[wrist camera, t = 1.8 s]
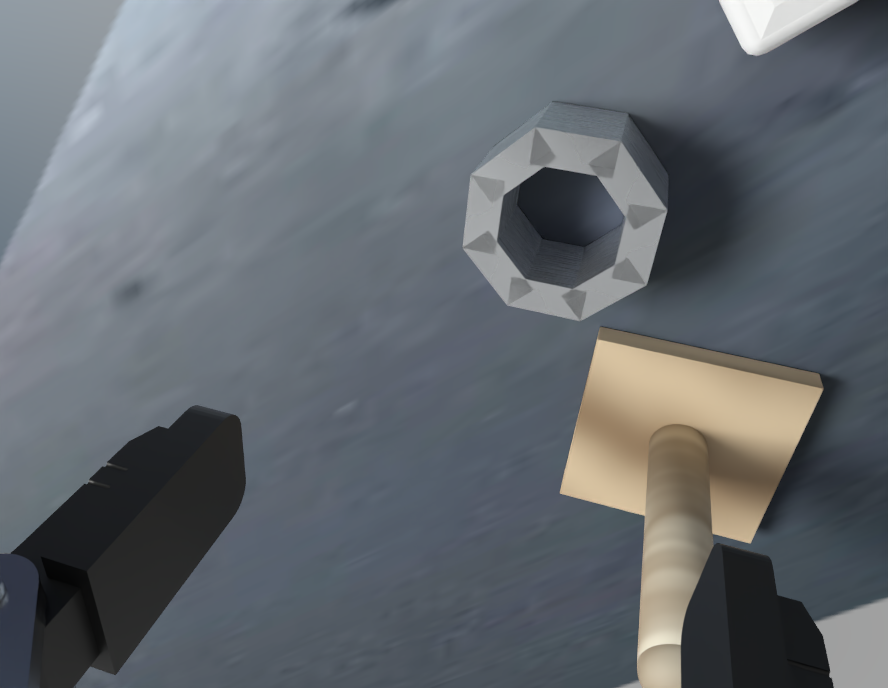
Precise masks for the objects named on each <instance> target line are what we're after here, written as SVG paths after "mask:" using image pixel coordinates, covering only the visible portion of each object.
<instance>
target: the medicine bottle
mask: <svg viewBox="0 0 888 688" xmlns="http://www.w3.org/2000/svg"><path fill="white" fill-rule="evenodd" d="M857 1H859V0H719V2H720V4H721V6H722V8H723V10H724V12H725V14H726V16H727V18H728V20H729V22H730V24H731V26H732V29H733V31H734V33H735V35H736V37H737V39H738V41H739V43H740V45H741V47H742V48H743V49H744V50H745V51H746V52H747V54H750V55H755V56H759V55H762V54H765V53H768V52H769V51H771V50H773V49H775V48H776V47H778V46H780V45H782V44H783V43H785V42H787V41H789V40H790V39H792V38H794V37H796V36H797V35H799V34H801V33H803V32H805V31H806V30H808V29H810V28H812V27H813V26H815V25H817V24H819V23H820V22H822V21H824V20H826V19H827V18H829V17H831V16H833V15H834V14H836V13H838V12H840V11H841V10H843V9H845V8H847V7H848V6H850V5H852V4H854V3H855V2H857Z"/></svg>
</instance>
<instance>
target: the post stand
mask: <svg viewBox="0 0 888 688" xmlns="http://www.w3.org/2000/svg"><path fill="white" fill-rule="evenodd" d="M823 389H824V388H823V385H822V382H821V379H820V375H819V374H818V373H813V372H809V371H804V370H799V369H795V368H790V367H786V366H781V365H776V364H772V363H767V362H762V361H758V360H753V359H748V358H744V357H739V356H735V355H730V354H725V353H721V352H716V351H711V350H707V349H702V348H697V347H693V346H688V345H683V344H679V343H674V342H670V341H665V340H660V339H656V338H651V337H646V336H642V335H637V334H632V333H628V332H623V331H619V330H614V329H609V328H605V327H600V329H599V333H598V337H597V341H596V345H595V349H594V353H593V358H592V362H591V366H590V370H589V374H588V378H587V382H586V386H585V390H584V394H583V398H582V403H581V407H580V411H579V415H578V419H577V423H576V427H575V431H574V435H573V439H572V443H571V447H570V452H569V456H568V460H567V464H566V468H565V472H564V476H563V480H562V485H561V490H560V494H564V495H568V496H572V497H575V498H579V499H583V500H587V501H591V502H594V503H598V504H602V505H606V506H610V507H614V508H617V509H621V510H625V511H629V512H633V513H636V514H640V515H644V516H645V527H644V545H643V564H642V582H641V601H640V619H639V637H638V656H637V672H638V678H639V681H640V684H641V686H642V688H681V635H682V627H683V622H684V617H685V613H686V610H687V607H688V604H689V602H690V599H691V597H692V595H693V592H694V590H695V588H696V585H697V583H698V581H699V578H700V576H701V574H702V571H703V569H704V566H705V564H706V562H707V559H708V557H709V555H710V552H711V550H712V548H713V534H716V535H720V536H724V537H728V538H732V539H735V540H739V541H743V542H747V543H751V541H752V539H753V537H754V535H755V532H756V530H757V528H758V526H759V524H760V522H761V520H762V518H763V516H764V514H765V511H766V509H767V507H768V505H769V503H770V501H771V499H772V497H773V495H774V492H775V490H776V488H777V486H778V484H779V482H780V480H781V478H782V476H783V474H784V471H785V469H786V467H787V465H788V463H789V461H790V459H791V457H792V455H793V452H794V450H795V448H796V446H797V444H798V442H799V440H800V438H801V436H802V434H803V431H804V429H805V427H806V425H807V423H808V421H809V419H810V417H811V415H812V412H813V410H814V408H815V406H816V404H817V402H818V400H819V398H820V396H821V394H822V391H823Z"/></svg>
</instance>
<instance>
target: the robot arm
mask: <svg viewBox="0 0 888 688" xmlns="http://www.w3.org/2000/svg"><path fill="white" fill-rule="evenodd" d="M245 484H246V477H245V465H244V453H243V442H242V430H241V422H240V419H239V418H238V417H237V416H236V415H233V414H229V413H225V412H221V411H217V410H213V409H210V408H206V407H202V406H198V405H195V406H192V407H190V408H189V409H188V410H187V411H185V412H184V413H183V414H182V415H181V416H180V417H179V418H178V419H177V420H176V421H175V422H174V423H173V424H172V425H171V426H170V427H169V428H168V429H167V428H164V427H160V426H158V427H156V428H154V429H152V430H150V431H148V432H146V433H144V434H143V435H141V436H139V437H137V438H135V439H133V440H131V441H129V442H128V443H127V444H126V445H125V446H124V447H123V448H122V449H121V450H119V451H118V452H117V453H116V454H115V455H114V456H113V457H112V458H111V459H110V460H109V461H108V462H107V465H106V467H102V468H101V469H99V470H98V471H97V472H96V473H95V474H94V475H93V476H92V477H91V478H90V479H89V482H88V484H84V485H83V486H82V487H80V488H79V489H78V490H77V491H76V492H75V493H74V494H73V495H72V496H71V497H70V498H69V499H68V500H67V501H66V502H65V503H64V504H63V505H62V506H60V507H59V508H58V509H57V510H56V511H55V512H54V513H53V514H52V515H51V516H50V517H49V518H48V519H47V520H46V521H45V522H44V523H43V524H41V525H40V526H39V527H38V528H37V529H36V530H35V531H34V532H33V533H32V534H31V535H30V536H29V537H28V538H27V539H26V540H25V541H24V542H22V543H21V544H20V545H19V546H18V547H17V548H16V549H15V550H14V551H12V552H11V553H10V554H8V553H0V688H76V686H75V685H76V684H77V682H78V681H79V680H80V678H81V677H82V676H83V675H84V673H85V672H86V671H87V670H88V668H89V667H90V666H91V667H94V668H96V669H99V670H102V671H105V672H108V673H111V674H114V675H116V674H117V673H118V671H119V670H120V669H121V667H122V666H123V664H124V663H125V662H126V660H127V659H128V658H129V656H130V655H131V654H132V652H133V651H134V650H135V648H136V647H137V646H138V644H139V643H140V642H141V640H142V639H143V638H144V636H145V635H146V634H147V632H148V631H149V630H150V628H151V627H152V625H153V624H154V623H155V621H156V620H157V619H158V617H159V616H160V615H161V613H162V612H163V611H164V609H165V608H166V607H167V605H168V604H169V603H170V601H171V600H172V599H173V597H174V596H175V595H176V593H177V592H178V591H179V589H180V588H181V586H182V585H183V584H184V582H185V581H186V580H187V578H188V577H189V576H190V574H191V573H192V572H193V570H194V569H195V568H196V566H197V565H198V564H199V562H200V561H201V560H202V558H203V557H204V556H205V554H206V553H207V552H208V550H209V549H210V547H211V546H212V545H213V543H214V542H215V541H216V539H217V538H218V537H219V535H220V534H221V533H222V531H223V530H224V529H225V527H226V526H227V525H228V523H229V522H230V521H231V519H232V518H233V517H234V515H235V514H236V512H237V510H238V508H239V506H240V504H241V501H242V498H243V495H244V491H245ZM829 673H830V668H829V663H828V658H827V654H826V649H825V644H824V639H823V636H822V634H821V632H820V631H819V629H818V628H817V626H816V624H815V623H814V621H813V620H812V618H811V616H810V615H809V613H808V612H807V610H806V608H805V607H804V605H803V604H802V602H800V601H796V600H793V599H789V598H785V597H782V596H778V595H777V591H776V584H775V578H774V571H773V566H772V562H771V559H770V558H769V557H768V556H766V555H762V554H758V553H754V552H751V551H747V550H743V549H739V548H735V547H731V546H728V545H724V544H720V543H716V544H715V545H714V547H713V548H712V550H711V552H710V555H709V557H708V559H707V562H706V564H705V566H704V569H703V571H702V574H701V576H700V578H699V581H698V583H697V585H696V588H695V590H694V592H693V595H692V597H691V599H690V602H689V604H688V607H687V610H686V613H685V617H684V622H683V627H682V635H681V688H834V687H833V682H832V679H831V678H830V677H829Z"/></svg>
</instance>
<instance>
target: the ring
mask: <svg viewBox="0 0 888 688" xmlns="http://www.w3.org/2000/svg"><path fill="white" fill-rule="evenodd" d="M543 167H549V168H555V169H561V170H566V171H572V172H578V173H583V174H589V175H595V176H597V177H598V178H599V180H600V181H601V182H602V184H603V185H604V187H605V188H606V190H607V191H608V193H609V194H610V195H611V197H612V198H613V200H614V201H615V203H616V204H617V206H618V207H619V208H620V210H621V211H622V213H623V214H624V219H623V223H622V225H621V226H619V227H617V228H616V229H614V230H612V231H611V232H609V233H607V234H606V235H604V236H602V237H601V238H599V239H597V240H596V241H594V242H592V243H591V244H589V245H588V246H586V247H581V246H576V245H570V244H565V243H560V242H555V241H550V240H545V239H542V238H541V237H540V235H539V234H538V233H537V231H536V230H535V228H534V227H533V226H532V224H531V223H530V222H529V220H528V219H527V218H526V216H525V215H524V214H523V212H522V211H521V210H520V208H519V207H518V205H517V203H518V197H519V190H520V183H522V182H523V181H525V180H526V179H527V178H529V177H530V176H532V175H533V174H535V173H536V172H538V171H539V170H540V169H542V168H543ZM668 181H669V174H668V173H667V172H666V170H665V168H664V167H663V165H662V164H661V162H660V161H659V159H658V158H657V156H656V155H655V153H654V152H653V150H652V149H651V147H650V146H649V144H648V143H647V141H646V140H645V138H644V137H643V135H642V134H641V132H640V131H639V129H638V128H637V126H636V125H635V123H634V122H633V120H632V119H631V117H630V116H629V114H628V113H624V112H617V111H611V110H605V109H598V108H592V107H586V106H579V105H573V104H567V103H560V102H554V101H553V102H551V103H550V104H549V105H547V106H546V107H545V108H543V109H542V110H541V111H539V112H538V113H537V114H535V115H534V116H533V117H531V118H530V119H529V120H527V121H526V122H525V123H523V124H522V125H521V126H519V127H518V128H517V129H515V130H514V131H513V132H511V133H510V134H509V135H507V136H506V137H505V138H503V139H502V140H501V141H499V142H498V143H497V144H495V145H494V146H493V148H492V149H491V150H490V151H489V153H488V154H487V155H486V156H485V158H484V159H483V160H482V161H481V163H480V164H479V165H478V166H477V168H476V169H475V170H474V171H473V173H472V174H471V177H470V186H469V195H468V204H467V213H466V222H465V231H464V240H463V249H464V250H465V252H466V253H467V254H468V255H469V257H470V258H471V259H472V261H473V262H474V263H475V264H476V266H477V267H478V268H479V270H480V271H481V272H482V273H483V275H484V276H485V277H486V279H487V280H488V281H489V282H490V284H491V285H492V286H493V288H494V289H495V290H496V291H497V293H498V294H499V295H500V297H501V298H502V299H503V300H504V302H505V303H506V304H507V305H508V306H513V307H517V308H522V309H527V310H531V311H536V312H541V313H545V314H550V315H555V316H559V317H564V318H568V319H573V320H578V321H581V320H583V319H585V318H587V317H589V316H590V315H592V314H594V313H596V312H598V311H600V310H602V309H603V308H605V307H607V306H609V305H611V304H613V303H615V302H616V301H618V300H620V299H622V298H624V297H626V296H628V295H629V294H631V293H633V292H635V291H637V290H639V289H640V288H642V287H644V286H646V285H647V282H648V279H649V275H650V272H651V268H652V264H653V261H654V257H655V254H656V250H657V246H658V243H659V239H660V235H661V232H662V228H663V225H664V221H665V217H666V214H667V211H668Z"/></svg>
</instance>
